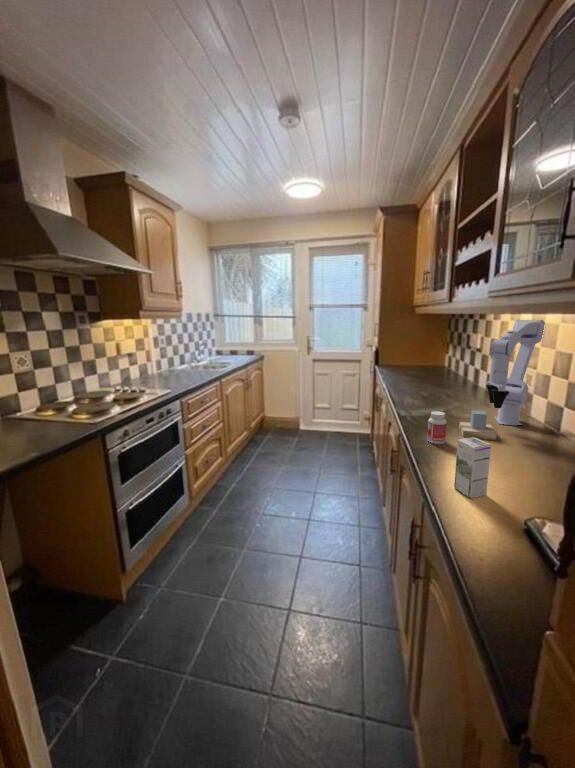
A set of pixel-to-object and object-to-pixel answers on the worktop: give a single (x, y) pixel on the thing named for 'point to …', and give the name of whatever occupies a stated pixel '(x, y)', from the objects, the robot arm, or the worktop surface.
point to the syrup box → (472, 466)
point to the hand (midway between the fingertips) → (495, 405)
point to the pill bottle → (437, 428)
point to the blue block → (478, 419)
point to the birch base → (477, 431)
